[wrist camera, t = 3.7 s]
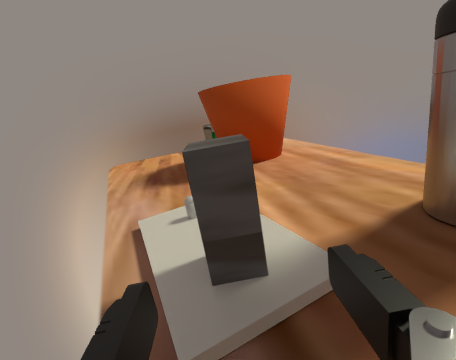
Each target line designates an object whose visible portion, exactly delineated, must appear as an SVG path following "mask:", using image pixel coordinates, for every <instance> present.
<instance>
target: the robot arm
mask: <svg viewBox="0 0 456 360" xmlns="http://www.w3.org/2000/svg"><path fill="white" fill-rule="evenodd" d="M432 71H433V72H432V74H433V75H432V88H431V101H430V115H429V128H428V142H427V156H426V169H425V180H424V194H423V208H424V210H425V211H426V212H427V213H428V214H430V215H431V216H433V217H434V218H436V219H439V220H441V221H443V222H446V223H449V224H452V225H455V226H456V0H448V1H447V2H446V3H445V4H444V5H443V6H442V7H441V8H440V10H439V12H438V15H437V18H436V26H435V42H434V56H433V70H432ZM328 269H329V280H330V284H331V286H332V289H333V291H334V292H335V294H336V295H337V297H338V298H339V300H340V301H341V303H342V304H343V305H344V307H345V308H346V310H347V311H348V313H349V314H350V316H351V317H352V319H353V320H354V322H355V323H356V324H357V326H358V327H359V329H360V330H361V332H362V333H363V335H364V336H365V338H366V339H367V341H368V342H369V343H370V345H371V346H372V348H373V349H374V351H375V352H376V354H377V355H378V357H379V358H380V360H456V317H454V316H453V315H451V314H449V313H447V312H445V311H442V310H439V309H436V308H431V307H426V306H425V305H424V304H423V303H422V302H421V301H420V300H419V299H417V298H416V297H415V296H414V295H413V294H412V293H411V292H410V291H409V290H408V289H406V288H405V287H404V286H403V285H402V284H401V283H400V282H399V281H398V280H397V279H395V278H393V276H392V275H391V274H390V273H389V272H388V271H387V270H386V271H385V269H384V268H383V267H382V266H381V265H380V264H379V263H378V262H377V261H376V260H374V259H372V258H370V257H368V256H366V255H364V254H358V255H357V254H356V253H355V252H354V251H353V250H352V249H351V248H350V247H349V246H348V245H346V244H345V245H340V246H334V247H329V248H328ZM157 323H158V313H157V308H156V305H155V302H154V299H153V296H152V292H151V289H150V286H149V284H148V282H141V283H136V284H131V285H128V286H127V288H126V290H125V292H124V294H123V296H122V298H121V299H119V300H116V301H115V302H114V303H113V304H112V305H111V306H110V307H109V308H108V309H107V311H106V312H105V314H104V316H103V318H102V320H101V322H100V325H99V326H98V327H97V329H96V331H95V335H94V336H93V337H92V339H91V341H90V343H89V345H88V347H87V348H86V350H85V352H84V354H83V356H82V358H81V360H149V356H150V352H151V348H152V344H153V340H154V336H155V332H156V328H157Z"/></svg>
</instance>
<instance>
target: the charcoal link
mask: <svg viewBox="0 0 456 360" xmlns="http://www.w3.org/2000/svg"><path fill="white" fill-rule="evenodd" d="M182 154H183V158H184V163H185V167H186V171H187V176H188V180H189V185H190V189H191V194H192V198H193V202H194V207H195V211H196V216H197V220H198V225H199V229H200V233H201V238H202V242H203V247H204V251H205V256H206V260H207V265H208V269H209V273H210V278H211V282H212V286H216V285H221V284H226V283H232V282H237V281H242V280H248V279H253V278H258V277H263V276H269V275H268V268H267V261H266V254H265V247H264V240H263V233H262V226H261V219H260V212H259V205H258V198H257V190H256V183H255V176H254V169H253V162H252V155H251V148H250V141H249V140H248V139H247V138H246V137H244V136H243V135H242V134H239V135H233V136H228V137H222V138H216V139H211V140H205V141H200V142H194V143H189V144H188V145H187V146H186V148H185V149H184V151H183V152H182Z"/></svg>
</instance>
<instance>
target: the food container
mask: <svg viewBox="0 0 456 360" xmlns="http://www.w3.org/2000/svg"><path fill="white" fill-rule="evenodd" d="M203 130H204V133H205V138H206V140H211V139H216V138H217V137H216V135H215V133H214V130H213V128H212V125H211V124H209V125H204V126H203Z"/></svg>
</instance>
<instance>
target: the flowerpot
mask: <svg viewBox="0 0 456 360" xmlns="http://www.w3.org/2000/svg"><path fill="white" fill-rule="evenodd" d="M290 82H291V75H278V76H269V77H262V78H256V79H250V80H244V81H239V82H234V83H229V84H225V85H221V86H216V87H212V88H209V89H206V90H203V91H200V92H199V93H198V94H199V97H200V99H201V102H202V104H203V106H204V109H205V111H206V113H207V116H208V118H209V121H210V123H211V125H212V128H213V130H214V133H215V135H216V137H217V138H222V137H228V136H233V135H239V134H242V135H243V136H244V137H246V138H247V139H248V140H249V141H250V148H251V155H252V162H253V163H256V162H262V161H266V160H270V159H273V158H276V157H278V156H280V155H281V152H282V145H283V136H284V128H285V121H286V113H287V105H288V97H289V89H290Z"/></svg>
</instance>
